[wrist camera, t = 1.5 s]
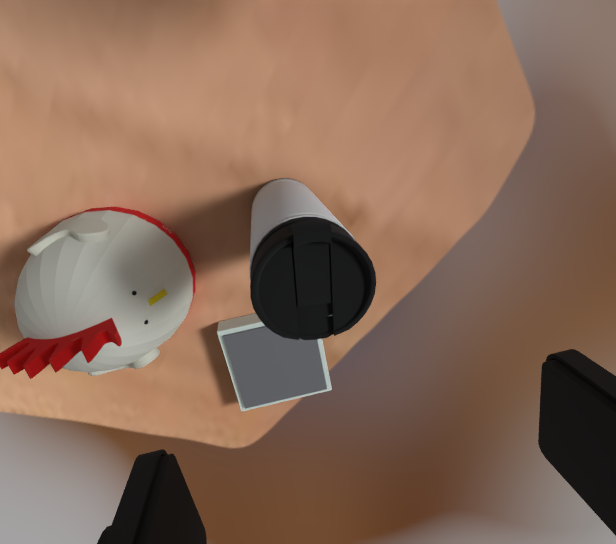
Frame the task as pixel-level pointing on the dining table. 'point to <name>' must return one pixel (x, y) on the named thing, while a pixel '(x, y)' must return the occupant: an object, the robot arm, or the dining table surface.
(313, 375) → the stand
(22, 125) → the dining table surface
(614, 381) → the robot arm
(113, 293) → the kitchen timer
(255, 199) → the travel mug
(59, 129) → the dining table surface
